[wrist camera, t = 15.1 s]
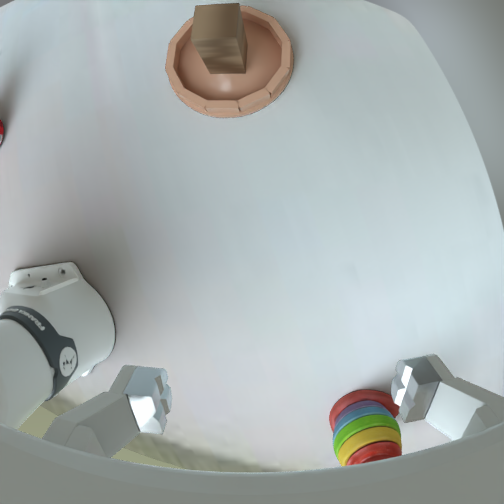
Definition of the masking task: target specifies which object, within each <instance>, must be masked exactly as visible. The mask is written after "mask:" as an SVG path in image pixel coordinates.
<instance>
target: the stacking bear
mask: <svg viewBox="0 0 504 504" xmlns="http://www.w3.org/2000/svg"><path fill="white" fill-rule="evenodd" d="M399 408H400V406H399V405H398V404H396V403H394V401H393V398H392V396H390V395H389V394H386V393H384V392H380V391H375V390H359V391H355V392H352V393H349V394H347V395H345V396H344V397H342V398H341V399H340V400H339V401H338V402H336V404H335V405H334V406H333V408H332V409H331V412H330V415H329V421H330V425H331V428H332V431H333V446H334V451H335V454H336V457H337V459H338V460H339V462H340V464H341V466H349V465H355V464H361V463H367V462H373V461H378V460H383V459H388V458H392V457H397V456H401V455H402V451H401V450H402V444H401V433H400V429H399V425H398V423H397V422H396V420H395V417H396V416H397V415H398V413H399Z"/></svg>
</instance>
